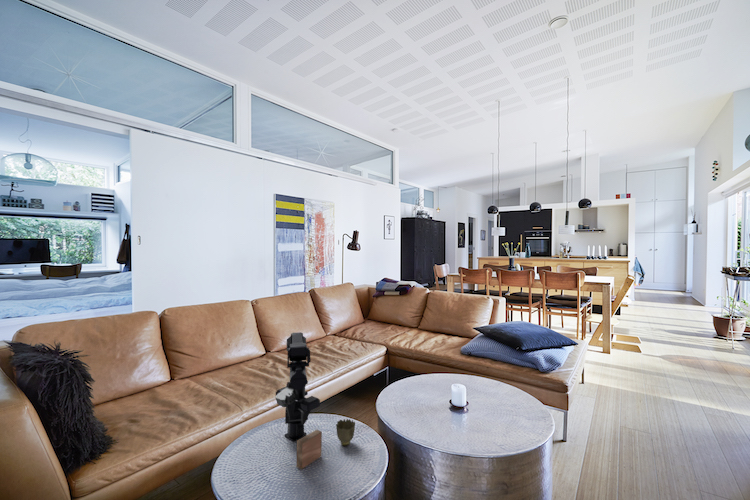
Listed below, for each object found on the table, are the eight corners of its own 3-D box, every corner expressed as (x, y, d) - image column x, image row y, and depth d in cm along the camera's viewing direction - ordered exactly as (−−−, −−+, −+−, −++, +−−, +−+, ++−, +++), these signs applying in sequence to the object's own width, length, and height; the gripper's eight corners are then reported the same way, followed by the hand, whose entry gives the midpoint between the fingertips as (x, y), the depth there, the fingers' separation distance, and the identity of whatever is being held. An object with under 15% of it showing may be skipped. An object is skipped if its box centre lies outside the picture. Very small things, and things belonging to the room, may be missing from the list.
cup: (351, 450, 124) (352, 429, 124) (333, 448, 125) (333, 427, 126) (356, 440, 131) (357, 419, 131) (339, 437, 133) (339, 417, 133)
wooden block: (296, 466, 114) (296, 440, 114) (316, 453, 122) (316, 429, 122) (301, 469, 113) (301, 443, 113) (321, 456, 120) (321, 431, 120)
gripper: (263, 379, 121) (262, 422, 121) (297, 392, 110) (296, 439, 110) (288, 371, 130) (287, 410, 130) (321, 382, 119) (320, 426, 119)
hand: (296, 421), depth 122 cm, fingers open, 7 cm apart
